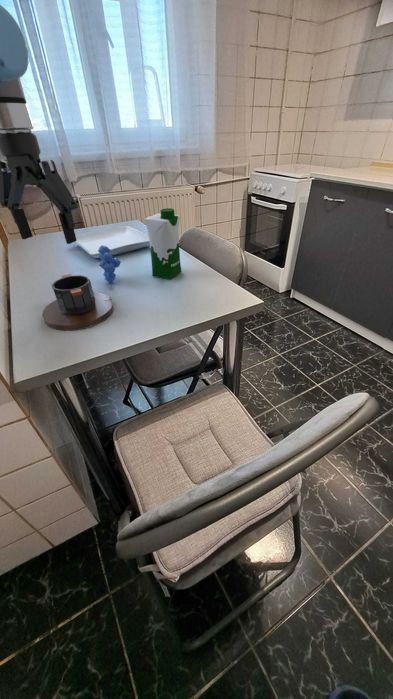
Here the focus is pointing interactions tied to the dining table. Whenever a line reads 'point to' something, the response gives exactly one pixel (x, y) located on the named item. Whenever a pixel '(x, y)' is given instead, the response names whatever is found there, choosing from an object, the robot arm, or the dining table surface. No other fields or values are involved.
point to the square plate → (112, 240)
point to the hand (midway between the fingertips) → (49, 240)
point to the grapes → (108, 263)
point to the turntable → (80, 321)
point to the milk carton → (164, 243)
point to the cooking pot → (74, 294)
